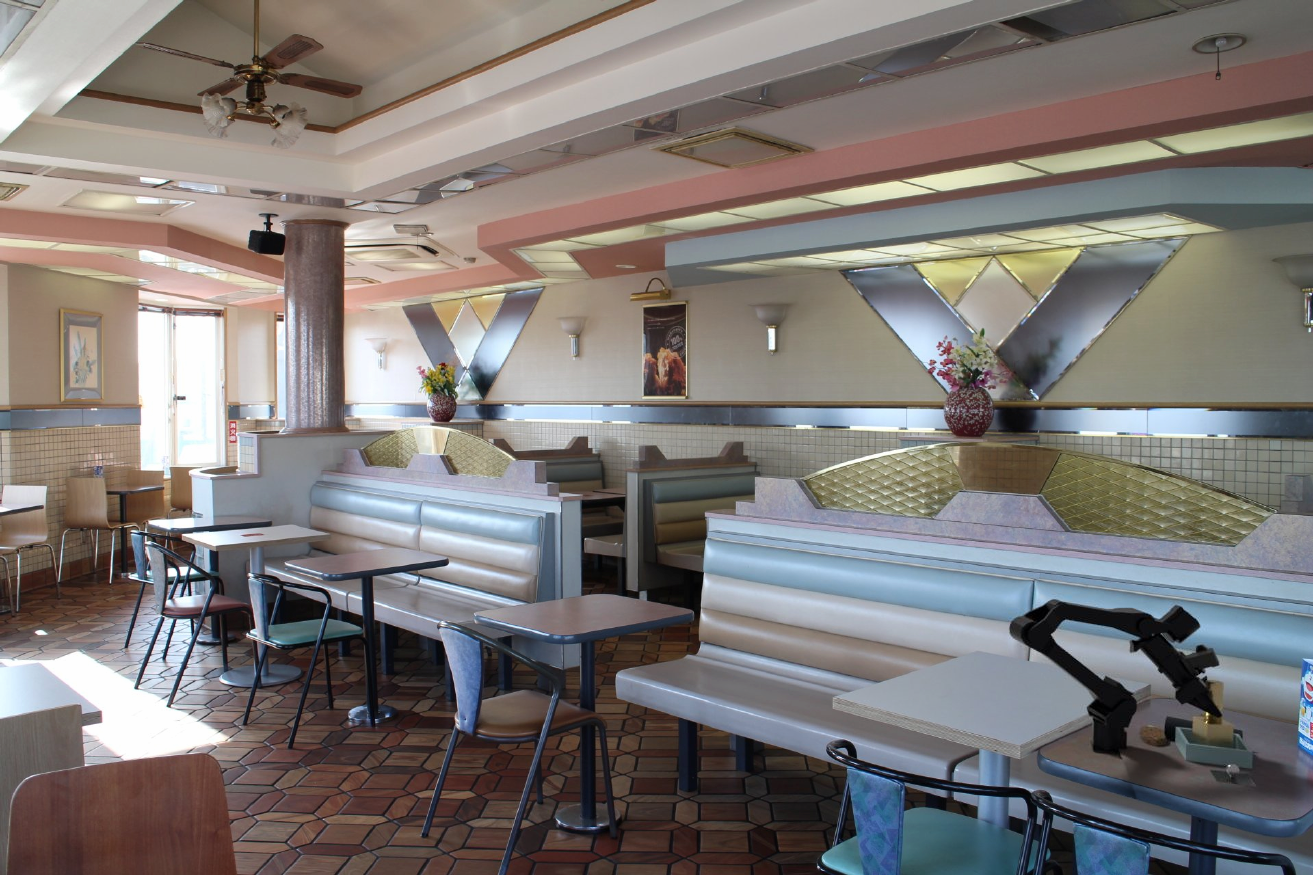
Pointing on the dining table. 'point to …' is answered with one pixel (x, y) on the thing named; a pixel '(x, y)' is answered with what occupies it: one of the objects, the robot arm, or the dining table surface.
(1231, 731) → the gold trophy
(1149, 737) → the ice cream bar
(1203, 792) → the dining table surface
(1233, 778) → the plate
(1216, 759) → the bin
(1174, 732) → the pipe connector
